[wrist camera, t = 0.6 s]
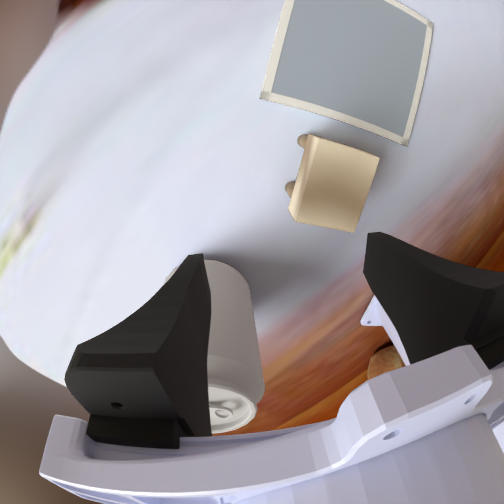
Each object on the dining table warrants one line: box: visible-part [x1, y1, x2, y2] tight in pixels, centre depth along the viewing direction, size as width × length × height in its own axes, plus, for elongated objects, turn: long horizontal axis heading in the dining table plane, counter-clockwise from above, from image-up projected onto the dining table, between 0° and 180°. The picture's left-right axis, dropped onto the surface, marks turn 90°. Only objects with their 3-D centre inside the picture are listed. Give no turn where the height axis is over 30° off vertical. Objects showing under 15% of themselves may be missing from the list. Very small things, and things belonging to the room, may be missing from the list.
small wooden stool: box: [285, 134, 380, 233], centre depth 18 cm, size 5×4×5 cm
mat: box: [260, 0, 433, 147], centre depth 15 cm, size 12×12×1 cm
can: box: [164, 259, 265, 433], centre depth 19 cm, size 8×8×12 cm
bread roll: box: [368, 345, 406, 380], centre depth 30 cm, size 10×15×8 cm, turn 52°
